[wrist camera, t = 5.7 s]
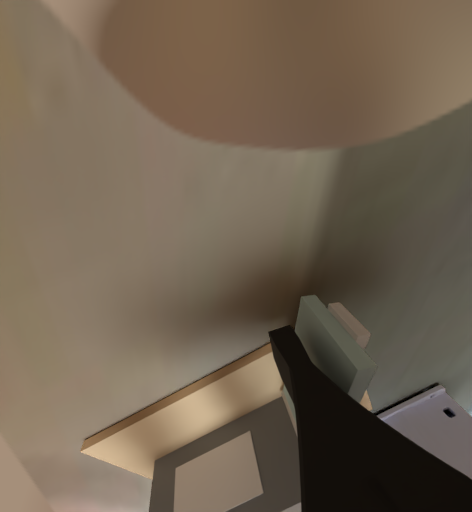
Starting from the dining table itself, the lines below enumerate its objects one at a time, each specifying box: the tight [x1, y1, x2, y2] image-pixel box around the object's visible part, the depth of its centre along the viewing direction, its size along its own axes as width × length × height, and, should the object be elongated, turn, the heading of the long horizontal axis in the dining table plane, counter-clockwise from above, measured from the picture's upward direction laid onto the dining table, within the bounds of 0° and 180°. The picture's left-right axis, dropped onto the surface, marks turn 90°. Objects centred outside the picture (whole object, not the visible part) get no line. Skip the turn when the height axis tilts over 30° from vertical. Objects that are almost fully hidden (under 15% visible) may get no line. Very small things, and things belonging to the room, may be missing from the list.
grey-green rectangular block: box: [281, 295, 378, 437], centre depth 11 cm, size 9×2×4 cm, turn 179°
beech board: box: [80, 330, 372, 480], centre depth 17 cm, size 19×14×1 cm
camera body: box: [149, 396, 301, 512], centre depth 15 cm, size 13×8×6 cm, turn 117°
